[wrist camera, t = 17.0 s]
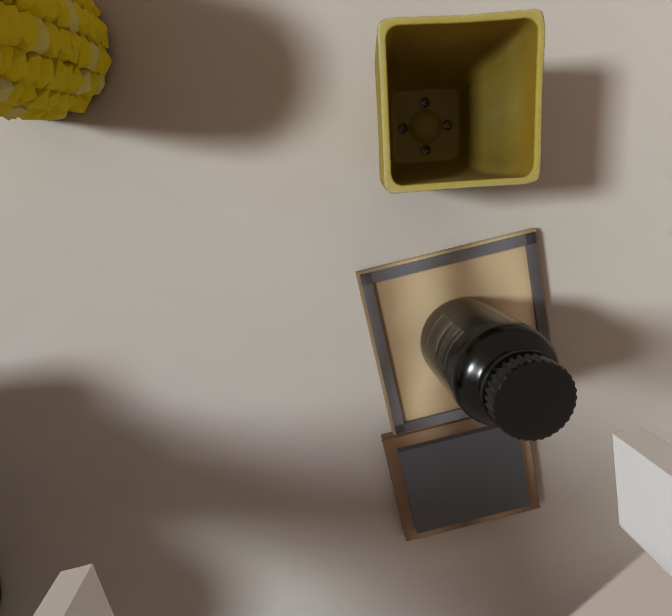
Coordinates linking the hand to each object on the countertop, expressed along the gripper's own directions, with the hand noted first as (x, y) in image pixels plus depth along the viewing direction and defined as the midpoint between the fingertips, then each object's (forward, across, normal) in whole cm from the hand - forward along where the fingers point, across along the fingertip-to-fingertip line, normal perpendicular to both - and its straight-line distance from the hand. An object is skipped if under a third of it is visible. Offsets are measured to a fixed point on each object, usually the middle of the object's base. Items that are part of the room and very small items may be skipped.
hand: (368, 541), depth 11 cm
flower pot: (+25, +10, +11) cm, 29 cm away
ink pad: (+25, +9, -17) cm, 31 cm away
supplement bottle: (+24, +11, -5) cm, 27 cm away
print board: (+25, +11, -5) cm, 27 cm away
